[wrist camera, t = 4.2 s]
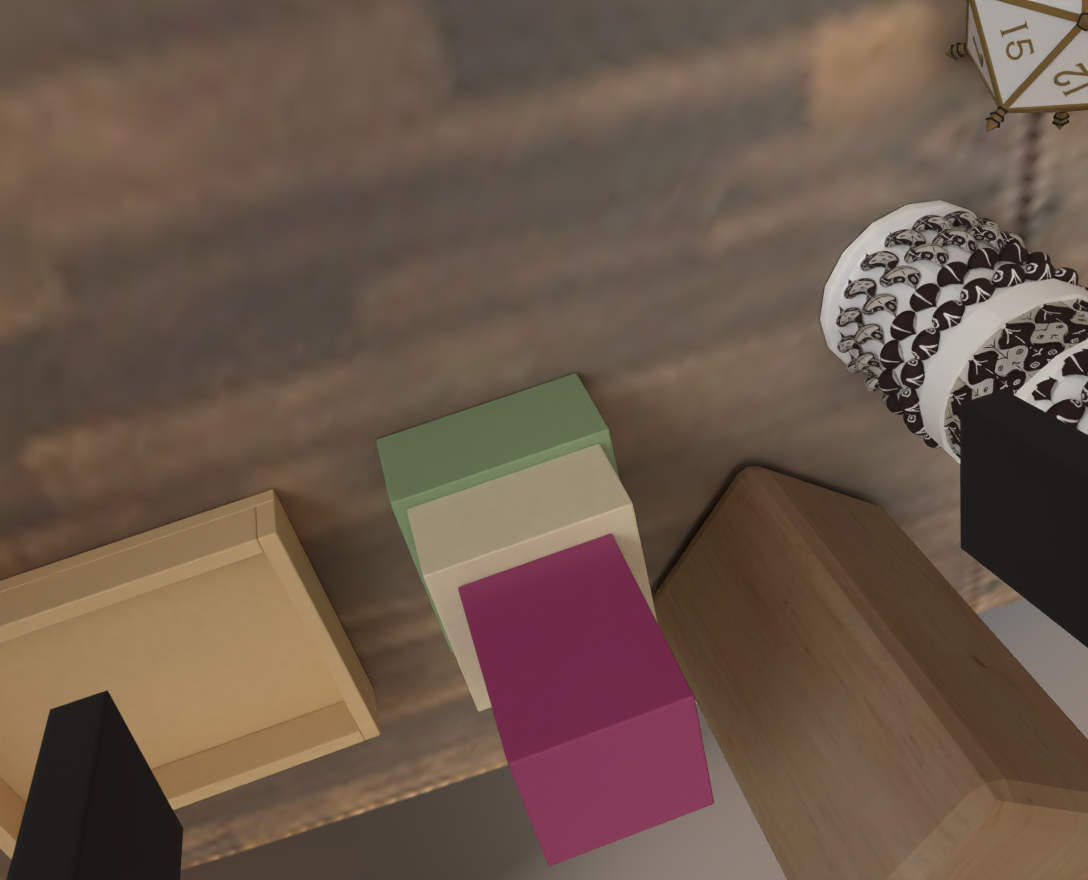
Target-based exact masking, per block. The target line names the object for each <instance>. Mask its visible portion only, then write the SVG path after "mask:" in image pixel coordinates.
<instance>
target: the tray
mask: <svg viewBox="0 0 1088 880" xmlns="http://www.w3.org/2000/svg"><path fill="white" fill-rule="evenodd" d="M106 690H108V692H109V693H110V695H111V697H112V699H113V701H114V703H115V704H116V706H117V708H118V710H119V712H120V714H121V715H122V717H123V719H124V721H125V723H126V725H127V726H128V728H129V730H130V732H131V734H132V736H133V737H134V739H135V741H136V743H137V745H138V747H139V749H140V750H141V752H142V754H143V756H144V758H145V760H146V761H147V763H148V765H149V767H150V769H151V771H152V772H153V774H154V776H155V778H156V780H157V782H158V783H159V785H160V787H161V789H162V791H163V793H164V794H165V796H166V798H167V800H168V802H169V804H170V805H171V807H172V809H173V810H175V809H178V808H180V807H183V806H186V805H189V804H191V803H194V802H197V801H200V800H202V799H205V798H208V797H211V796H214V795H216V794H219V793H222V792H225V791H227V790H230V789H233V788H236V787H238V786H241V785H244V784H247V783H249V782H252V781H255V780H258V779H260V778H263V777H266V776H269V775H271V774H274V773H277V772H280V771H282V770H285V769H288V768H291V767H293V766H296V765H299V764H302V763H304V762H307V761H310V760H313V759H316V758H318V757H321V756H324V755H327V754H329V753H332V752H335V751H338V750H340V749H343V748H346V747H349V746H351V745H354V744H357V743H360V742H362V741H364V740H368V739H371V738H373V737H376V736H379V735H380V734H381V732H380V726H379V720H378V714H377V708H376V702H375V695H374V689H373V687H372V685H371V683H370V681H369V679H368V677H367V675H366V673H365V671H364V669H363V667H362V665H361V663H360V661H359V659H358V657H357V655H356V653H355V651H354V649H353V647H352V645H351V643H350V641H349V639H348V637H347V635H346V633H345V631H344V629H343V627H342V625H341V623H340V621H339V619H338V617H337V615H336V613H335V611H334V609H333V607H332V605H331V603H330V601H329V599H328V597H327V595H326V593H325V591H324V589H323V587H322V585H321V583H320V581H319V579H318V577H317V575H316V573H315V571H314V569H313V567H312V565H311V563H310V561H309V559H308V557H307V555H306V553H305V551H304V549H303V547H302V545H301V543H300V541H299V539H298V537H297V535H296V533H295V531H294V529H293V527H292V525H291V523H290V521H289V519H288V517H287V515H286V513H285V511H284V509H283V507H282V505H281V503H280V501H279V499H278V497H277V495H276V493H275V491H274V490H273V489H271V490H268V491H265V492H262V493H259V494H256V495H254V496H251V497H248V498H245V499H242V500H239V501H236V502H233V503H230V504H227V505H224V506H221V507H218V508H215V509H212V510H209V511H206V512H203V513H200V514H197V515H194V516H191V517H188V518H185V519H182V520H179V521H176V522H173V523H170V524H167V525H164V526H161V527H158V528H155V529H152V530H149V531H147V532H144V533H141V534H138V535H135V536H132V537H129V538H126V539H123V540H120V541H117V542H114V543H111V544H108V545H105V546H102V547H99V548H96V549H93V550H90V551H87V552H84V553H81V554H78V555H75V556H72V557H69V558H66V559H63V560H60V561H57V562H54V563H51V564H48V565H45V566H43V567H40V568H37V569H34V570H31V571H28V572H25V573H22V574H19V575H16V576H13V577H10V578H7V579H4V580H1V581H0V849H1V850H2V851H3V852H4V853H5V854H6V855H7V856H8V857H9V858H10V859H11V860H12V857H13V853H14V849H15V845H16V841H17V837H18V833H19V829H20V825H21V821H22V817H23V813H24V810H25V806H26V802H27V798H28V794H29V790H30V786H31V782H32V778H33V774H34V770H35V766H36V762H37V759H38V755H39V751H40V747H41V743H42V739H43V735H44V731H45V727H46V723H47V719H48V715H49V711H50V709H53V708H56V707H59V706H62V705H65V704H68V703H71V702H74V701H77V700H80V699H83V698H86V697H89V696H92V695H95V694H97V693H100V692H103V691H106Z"/></svg>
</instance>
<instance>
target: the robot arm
mask: <svg viewBox="0 0 1088 880" xmlns="http://www.w3.org/2000/svg"><path fill="white" fill-rule="evenodd" d="M960 488H961V548H962V549H963V550H964V551H966V552H967V553H968V554H969V555H971V556H972V557H973V558H974V559H976V560H977V561H978V562H980V563H981V564H982V565H983V566H985V567H986V568H987V569H988V570H990V571H991V572H992V573H993V574H995V575H996V576H997V577H999V578H1000V579H1001V580H1002V581H1004V582H1005V583H1006V584H1007V585H1009V586H1010V587H1011V588H1013V589H1014V590H1015V591H1016V592H1018V593H1019V594H1020V595H1021V596H1023V597H1024V598H1025V599H1026V600H1028V601H1029V602H1030V603H1032V604H1033V605H1034V606H1036V607H1037V608H1038V609H1039V610H1040V611H1042V612H1043V613H1044V614H1046V615H1047V616H1048V617H1049V618H1051V619H1052V620H1053V621H1054V622H1056V623H1057V624H1058V625H1060V626H1061V627H1062V628H1063V629H1065V630H1066V631H1067V632H1068V633H1070V634H1071V635H1072V636H1073V637H1075V638H1076V639H1077V640H1079V641H1080V642H1081V643H1083V644H1084V645H1085V646H1086V647H1087V648H1088V435H1087V434H1085V433H1084V432H1082V431H1080V430H1078V429H1076V428H1074V427H1072V426H1070V425H1069V424H1067V423H1065V422H1063V421H1061V420H1059V419H1057V418H1056V417H1054V416H1052V415H1050V414H1048V413H1046V412H1044V411H1043V410H1041V409H1039V408H1037V407H1035V406H1033V405H1031V404H1030V403H1028V402H1026V401H1024V400H1022V399H1020V398H1018V397H1017V396H1015V395H1013V394H1011V393H1009V392H1007V391H1005V390H1003V389H1002V390H999V391H996V392H994V393H991V394H988V395H985V396H982V397H979V398H976V399H973V400H970V401H967V402H964V403H961V404H960ZM182 839H183V827H182V826H181V824H180V822H179V820H178V818H177V816H176V815H175V813H174V811H173V809H172V807H171V805H170V804H169V802H168V800H167V798H166V796H165V794H164V793H163V791H162V789H161V787H160V785H159V783H158V782H157V780H156V778H155V776H154V774H153V772H152V771H151V769H150V767H149V765H148V763H147V761H146V760H145V758H144V756H143V754H142V752H141V750H140V749H139V747H138V745H137V743H136V741H135V739H134V737H133V736H132V734H131V732H130V730H129V728H128V726H127V725H126V723H125V721H124V719H123V717H122V715H121V714H120V712H119V710H118V708H117V706H116V704H115V703H114V701H113V699H112V697H111V695H110V693H109V692H108V690H106V691H103V692H100V693H97V694H95V695H92V696H89V697H86V698H83V699H80V700H77V701H74V702H71V703H68V704H65V705H62V706H59V707H56V708H53V709H50V711H49V715H48V719H47V723H46V727H45V731H44V735H43V739H42V743H41V747H40V751H39V755H38V759H37V762H36V766H35V770H34V774H33V778H32V782H31V786H30V790H29V794H28V798H27V802H26V806H25V810H24V813H23V817H22V821H21V825H20V829H19V833H18V837H17V841H16V845H15V849H14V853H13V857H12V861H11V865H10V868H9V872H8V876H7V880H180V871H181V855H182Z"/></svg>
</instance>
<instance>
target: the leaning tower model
mask: <svg viewBox="0 0 1088 880" xmlns="http://www.w3.org/2000/svg"><path fill="white" fill-rule="evenodd" d="M1077 284H1078V274H1077V272H1076V271H1075V270H1073V269H1071V268H1059V269H1054V267H1053V265H1052V264H1051V262H1050V257H1049V256H1048V255H1047V254H1046V253H1043V252H1033V253H1031V252H1030V251H1028V250H1026V249H1025V246H1024V243H1023V241H1022V239H1021V237H1019V236H1018V235H1016V234H1014V233H1011V232H1000V230H999V227H998V225H997V224H996V223H995V222H994V221H992V220H990V219H986V218H977V217H976V216H975V214H974V213H973V212H971V211H970V210H968V209H965V208H962V207H959V206H956V205H953V204H951V203H948V202H945V201H942V200H938V201H930V202H923V203H916V204H908V205H905V206H903V207H901V208H899V209H898V210H896V211H894V212H892V213H890V214H888V215H886V216H884V217H883V218H881V219H879V220H877V221H875V222H873V223H872V224H871V225H870V226H869V227H868V228H867V229H866V230H865V231H864V232H863V233H862V234H861V235H860V236H859V237H858V238H857V239H856V240H855V241H854V242H853V243H852V244H851V245H850V246H849V247H848V248H847V249H846V250H845V251H844V252H843V253H842V255H841V257H840V259H839V261H838V263H837V265H836V267H835V268H834V270H833V272H832V274H831V276H830V278H829V280H828V282H827V283H826V285H825V289H824V296H823V302H822V309H821V316H820V322H821V325H822V329H823V332H824V336H825V339H826V342H827V346H828V348H829V349H830V350H831V351H832V352H833V353H835V354H836V355H837V356H838V357H839V358H840V359H841V360H842V361H843V362H844V363H845V364H846V365H847V366H846V367H847V370H848V371H849V372H850V373H857V372H859V371H863V372H867V373H868V376H867V377H866V378H865V380H864V386H865V388H866V389H867V390H868V391H871V392H872V391H876V390H877V389H879V388H880V389H881V390H882V391H883V392H884V393H885V394H884V395H883V397H882V402H883V404H885V405H887V408H888V409H889V410H890V411H891V412H892V413H894V414H898V415H902V414H904V416H903V419H904V422H905V424H906V425H907V427H908V429H909V430H910V431H911V432H912V433H914V434H916V435H924V442H925V443H926V444H927V445H928V446H929V447H932V448H941V447H942V448H943V449H944V450H945V451H946V452H947V453H948V454H949V455H950V456H952V457H953V458H954V459H955V460H956V461H957V462H958V463H959V464H960V404H961V403H964V402H967V401H970V400H973V399H976V398H979V397H982V396H985V395H988V394H991V393H994V392H996V391H999V390H1002V389H1003V390H1005V391H1007V392H1009V393H1011V394H1013V395H1015V396H1017V397H1018V398H1020V399H1022V400H1024V401H1026V402H1028V403H1030V404H1031V405H1033V406H1035V407H1037V408H1039V409H1041V410H1043V411H1044V412H1046V413H1048V414H1050V415H1052V416H1054V417H1056V418H1057V419H1059V420H1061V421H1063V422H1065V423H1067V424H1069V425H1070V426H1072V427H1074V428H1076V429H1078V430H1080V431H1082V432H1084V433H1085V434H1087V435H1088V288H1087V287H1085V286H1083V285H1077Z"/></svg>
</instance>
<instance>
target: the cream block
mask: <svg viewBox="0 0 1088 880" xmlns="http://www.w3.org/2000/svg"><path fill="white" fill-rule="evenodd" d="M407 514H408V518H409V522H410V526H411V530H412V534H413V538H414V542H415V546H416V550H417V554H418V558H419V562H420V566H421V570H422V574H423V577H424V580H425V582H426V585H427V587H428V590H429V592H430V595H431V597H432V600H433V602H434V605H435V607H436V609H437V612H438V614H439V617H440V619H441V622H442V624H443V627H444V629H445V632H446V634H447V636H448V639H449V641H450V644H451V646H452V649H453V651H454V654H455V656H456V659H457V661H458V663H459V666H460V668H461V671H462V673H463V676H464V678H465V681H466V683H467V686H468V688H469V691H470V693H471V695H472V698H473V700H474V703H475V705H476V708H477V710H478V711H479V712H480V711H482V710H485V709H488V708H491V707H492V706H491V703H490V699H489V696H488V692H487V689H486V685H485V682H484V678H483V675H482V671H481V668H480V664H479V661H478V657H477V654H476V651H475V647H474V644H473V640H472V637H471V633H470V630H469V626H468V623H467V619H466V616H465V612H464V609H463V605H462V602H461V598H460V595H459V591H458V587H460V586H463V585H466V584H468V583H471V582H474V581H477V580H480V579H483V578H485V577H488V576H491V575H494V574H497V573H500V572H503V571H505V570H508V569H511V568H514V567H517V566H520V565H522V564H525V563H528V562H531V561H534V560H537V559H540V558H542V557H545V556H548V555H551V554H554V553H557V552H559V551H562V550H565V549H568V548H571V547H574V546H576V545H579V544H582V543H585V542H588V541H591V540H594V539H596V538H599V537H602V536H605V535H608V534H612V535H613V536H614V538H615V540H616V542H617V544H618V546H619V548H620V550H621V552H622V554H623V556H624V558H625V560H626V562H627V564H628V566H629V568H630V570H631V572H632V574H633V576H634V578H635V580H636V582H637V584H638V586H639V588H640V590H641V592H642V594H643V596H644V598H645V600H646V602H647V604H648V605H649V607H650V609H651V611H652V613H653V615H654V617H655V619H656V621H657V618H656V613H655V608H654V603H653V599H652V594H651V589H650V584H649V579H648V575H647V570H646V565H645V560H644V555H643V551H642V546H641V541H640V536H639V531H638V526H637V522H636V517H635V512H634V507H633V503H632V501H631V500H630V498H629V496H628V494H627V492H626V491H625V489H624V487H623V485H622V483H621V481H620V480H619V478H618V476H617V474H616V472H615V471H614V469H613V467H612V465H611V463H610V462H609V460H608V458H607V456H606V454H605V453H604V451H603V449H602V447H601V445H600V444H596V445H593V446H590V447H587V448H584V449H581V450H579V451H576V452H573V453H570V454H567V455H564V456H561V457H558V458H555V459H552V460H549V461H546V462H544V463H541V464H538V465H535V466H532V467H529V468H526V469H523V470H520V471H517V472H514V473H511V474H509V475H506V476H503V477H500V478H497V479H494V480H491V481H488V482H485V483H482V484H479V485H476V486H473V487H471V488H468V489H465V490H462V491H459V492H456V493H453V494H450V495H447V496H444V497H441V498H438V499H436V500H433V501H430V502H427V503H424V504H421V505H418V506H415V507H412V508H409V509H407Z"/></svg>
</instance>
